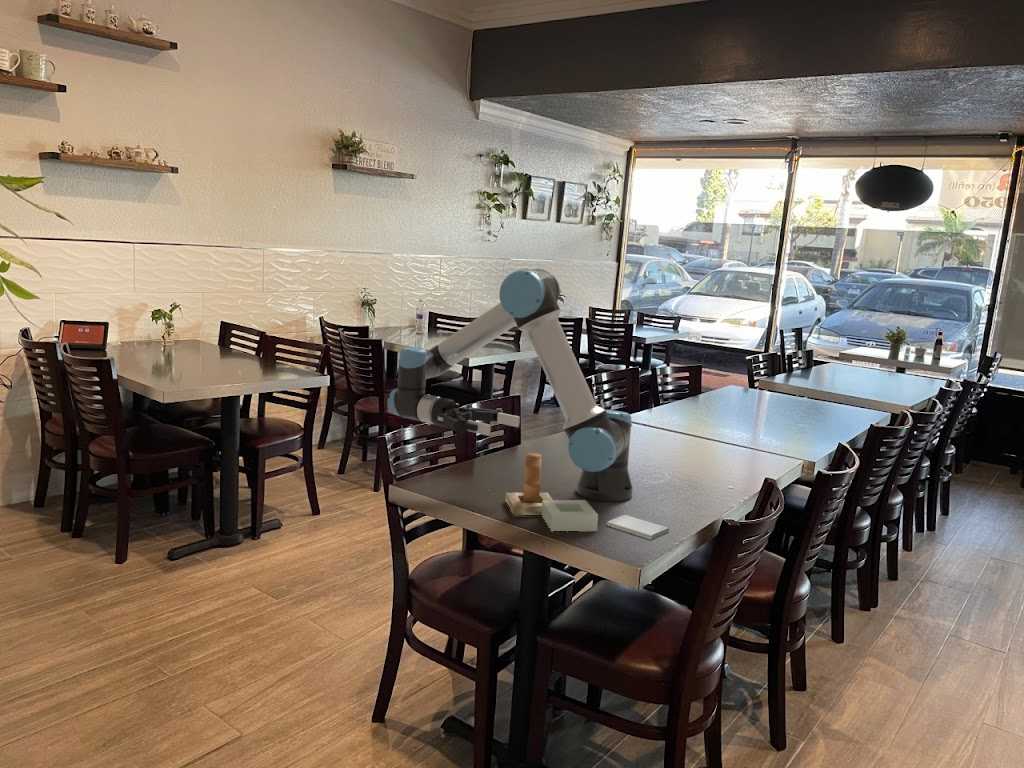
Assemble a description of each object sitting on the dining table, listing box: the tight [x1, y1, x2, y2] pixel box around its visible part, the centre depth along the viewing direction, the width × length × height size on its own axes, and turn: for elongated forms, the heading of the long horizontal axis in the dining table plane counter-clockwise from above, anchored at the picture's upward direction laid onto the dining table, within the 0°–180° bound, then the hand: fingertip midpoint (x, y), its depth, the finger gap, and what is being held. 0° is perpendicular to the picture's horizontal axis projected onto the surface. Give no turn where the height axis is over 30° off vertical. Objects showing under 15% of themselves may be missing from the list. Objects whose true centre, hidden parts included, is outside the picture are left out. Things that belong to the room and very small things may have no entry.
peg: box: [523, 452, 542, 503], centre depth 197 cm, size 4×4×14 cm
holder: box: [505, 491, 554, 516], centre depth 198 cm, size 11×11×2 cm
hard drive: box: [606, 514, 670, 540], centre depth 188 cm, size 2×8×12 cm
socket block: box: [541, 499, 599, 533], centre depth 188 cm, size 11×11×4 cm
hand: (504, 426), depth 199 cm, fingers open, 13 cm apart
